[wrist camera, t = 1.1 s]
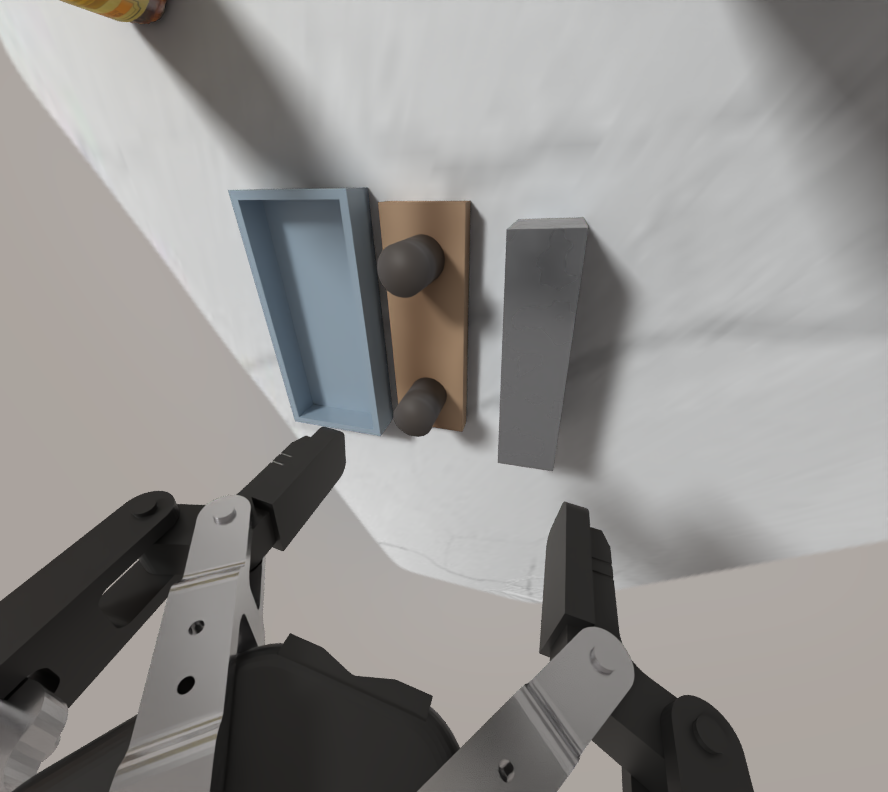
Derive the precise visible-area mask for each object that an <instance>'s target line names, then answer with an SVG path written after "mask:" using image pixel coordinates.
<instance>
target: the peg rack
mask: <svg viewBox="0 0 888 792" xmlns="http://www.w3.org/2000/svg"><path fill="white" fill-rule="evenodd" d="M470 206H471V201H385V202H378V208H379V218H380V228H381V238H382V248H383V251H382V252H381V254H380V255H379V258H378V262H377V272H378V276H379V279H380V281H381V283H382V285H383V286H384V288H385V289H386V290H387V297H388V307H389V317H390V327H391V337H392V347H393V357H394V367H395V377H396V387H397V397H398V405H397V407H396V408H395V410H394V413H393V417H394V421H395V423H396V425H397V426H398V428H399V429H400V430H402V431H403V432H404V433H406V434H408V435H411V436H416V437H419V436H424V435H426V434H428V433H429V432H430V430H431V429H432V427H436V428H442V429H448V430H454V431H461V432H462V431H463V429H464V426H465V424H466V404H467V355H468V305H469V255H470Z"/></svg>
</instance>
